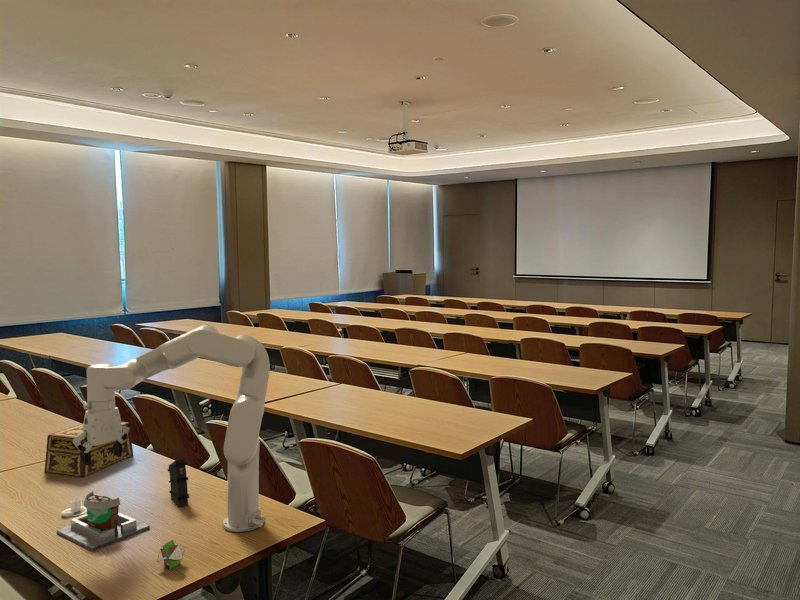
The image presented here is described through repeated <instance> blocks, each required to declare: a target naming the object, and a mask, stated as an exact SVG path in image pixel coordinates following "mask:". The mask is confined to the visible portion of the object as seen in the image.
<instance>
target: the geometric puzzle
mask: <svg viewBox="0 0 800 600" xmlns="http://www.w3.org/2000/svg"><path fill="white" fill-rule="evenodd" d="M181 547H182V548H181ZM185 549H186V547H185V546H184V545H181V546H180V545H179V544H175V540H174V539H170V541H168V542H166V543H165V544H163V545H161V548H160V549H159V553H158V558H157V560H156V562H158V563H159V564H162V566H164V565H165V566H166V567H165V568H167V569H168V570H169V571H171V570H172V569H173V568H174V567H176V566H177V565H179V564H181V562H182V561H183V560H184V559H183V558H184V557H183V553H185V552H186V551H185ZM182 550H183V551H182ZM160 554H161V557H162V558H160V559H159V557H160ZM161 561H164V562H161ZM163 564H164V565H163Z"/></svg>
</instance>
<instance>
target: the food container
mask: <svg viewBox="0 0 800 600" xmlns="http://www.w3.org/2000/svg"><path fill="white" fill-rule="evenodd" d="M120 505H121V501H120V497H117V498H111V497H108V496H107V495H97V494H95V493H94V491H91V492H89V493H87V494H86V495H85V497H84V499H83V506H85V507H86V509H87V512H86V514H87V518H88V525H90V526H92V527H94V528H96V529H99V530H101V531H104V530H106V529H109V528H112V527H113V528H115V530H116V529H117V526H118V512H119V506H120Z"/></svg>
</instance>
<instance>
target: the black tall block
mask: <svg viewBox="0 0 800 600" xmlns="http://www.w3.org/2000/svg"><path fill="white" fill-rule="evenodd" d="M186 466H187V461H185V458H183V459H177V460H174V461H173V462H171V463H170V464H168V469H167V472H168V473H169V481H168V483H170V490H169V492H168V493H169V494H170V497H171V498H172V500H173V502H175V504H176V505H177V507H179V508H181V507H185V506H188V505H189V503H188V502H189V499H190V494H189V493H188V481H189V477H188V476H187V469H186V468H187V467H186Z"/></svg>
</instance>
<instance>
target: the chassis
mask: <svg viewBox="0 0 800 600" xmlns="http://www.w3.org/2000/svg"><path fill="white" fill-rule="evenodd" d="M150 528H151V526H150V525H149V524H147V523H145V522H142V521H140V520H138V519H135V518H133V517H130V516H128V515H126V514H125V513H124V514H123V513H121V512H119V511H118V526H117V529H116V530H115V528H113V527H112V528H109V529H106V530H104V531H101V530H99V529H96V528H94V527H92V526H90V525H88V518H87V513H85V514H84V515H83V514H82V515H81V516H80V515H79V516H77V517H75V518H72V519H70V525H67V526H64V527H62V528H59V529H57V530H56V534H57V535H59V536H61V537H64V538H65V539H67V540H70V541H71V542H73V543H75V544H77V545H79V546H81V547H83V548H85V549H87V550H89V551H91V552H95V551H98V550H100V549H103V548H105V547H107V546H110V545H112V544H114V543H117V542H119V541H123V540H124V539H127V538H130V537H132V536H133V537H134V536H135V535H137V534H140V533H143V532H144V531H147V530H149V529H150Z"/></svg>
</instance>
